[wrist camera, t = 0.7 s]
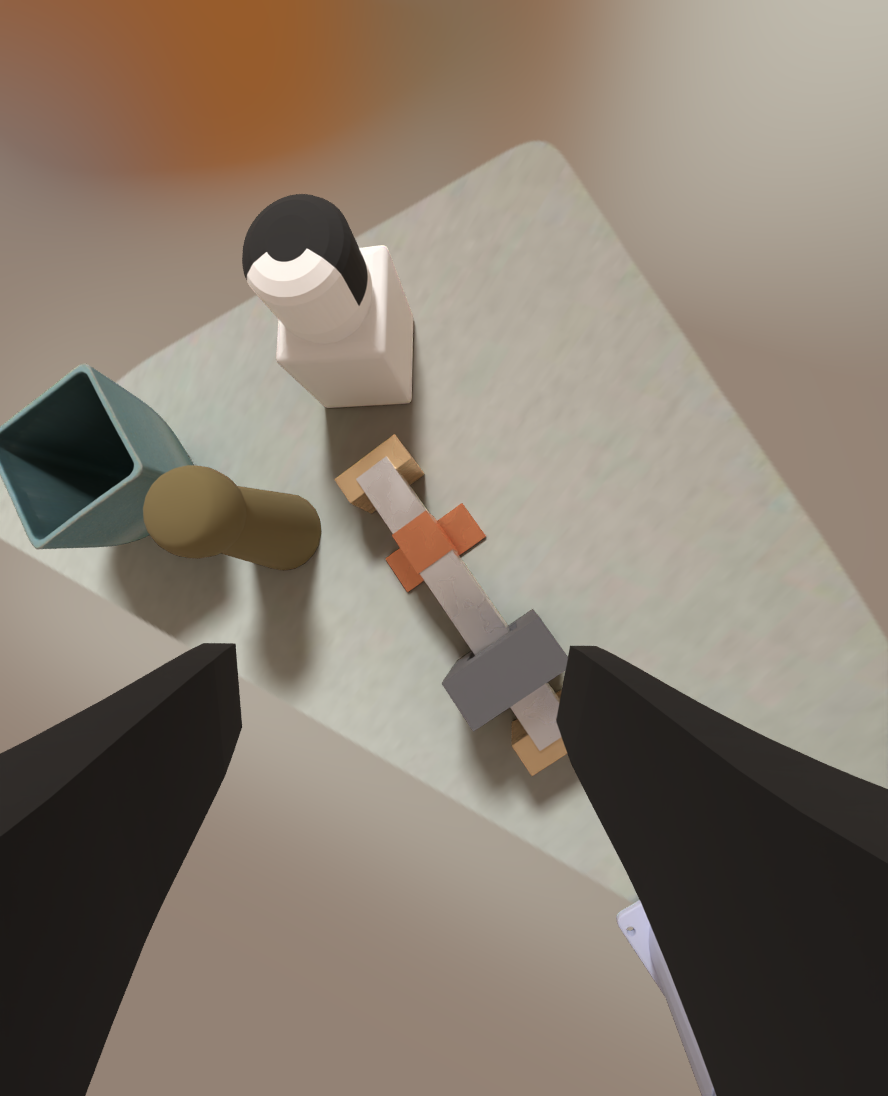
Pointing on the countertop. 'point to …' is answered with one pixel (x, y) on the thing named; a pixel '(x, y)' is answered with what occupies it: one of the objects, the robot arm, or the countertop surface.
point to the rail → (448, 579)
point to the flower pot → (85, 462)
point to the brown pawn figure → (229, 519)
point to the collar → (505, 671)
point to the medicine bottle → (331, 304)
